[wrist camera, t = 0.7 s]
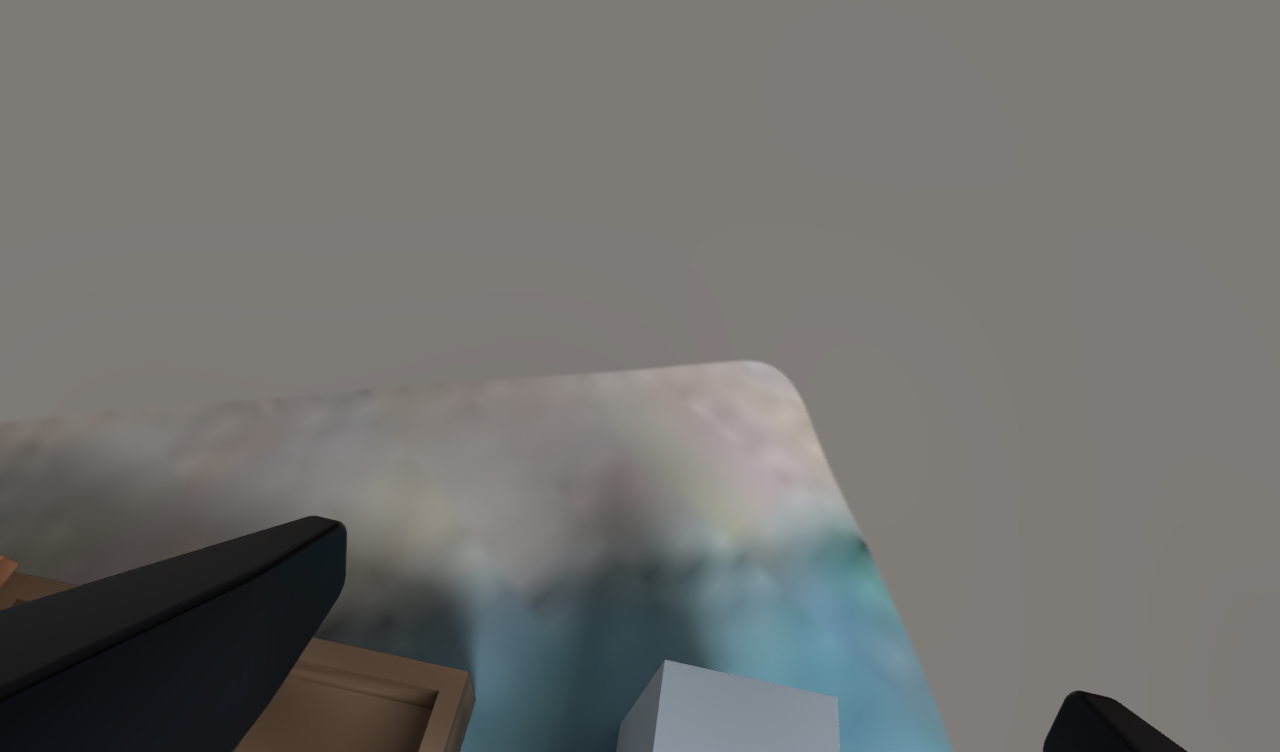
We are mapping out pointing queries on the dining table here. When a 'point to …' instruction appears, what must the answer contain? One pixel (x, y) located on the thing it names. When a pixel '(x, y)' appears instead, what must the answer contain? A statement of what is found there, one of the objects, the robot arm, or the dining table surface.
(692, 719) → the white rectangular box
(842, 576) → the dining table surface
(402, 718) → the rack
